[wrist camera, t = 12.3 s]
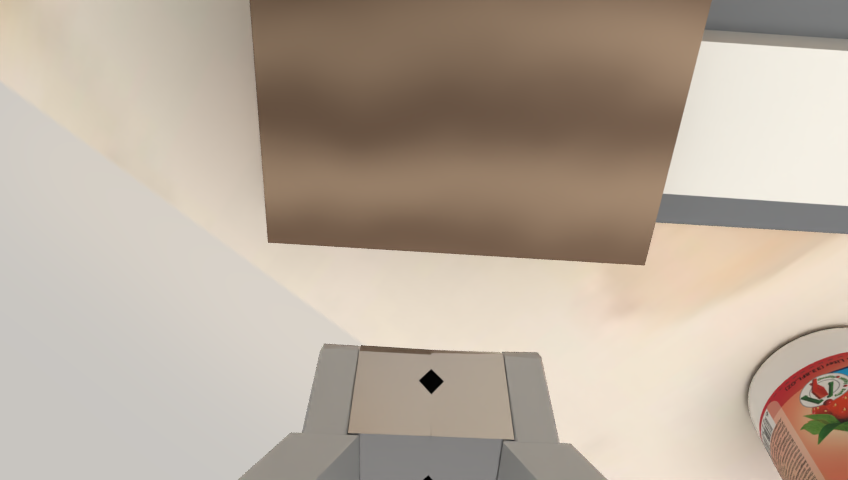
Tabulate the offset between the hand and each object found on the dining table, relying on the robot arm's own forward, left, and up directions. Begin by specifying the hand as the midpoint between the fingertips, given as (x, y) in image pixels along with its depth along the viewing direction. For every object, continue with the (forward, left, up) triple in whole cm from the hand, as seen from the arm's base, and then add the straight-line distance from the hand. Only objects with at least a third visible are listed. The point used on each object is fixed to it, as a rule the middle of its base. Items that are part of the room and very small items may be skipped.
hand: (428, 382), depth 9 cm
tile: (+3, +15, -24) cm, 28 cm away
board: (+3, +1, -24) cm, 24 cm away
